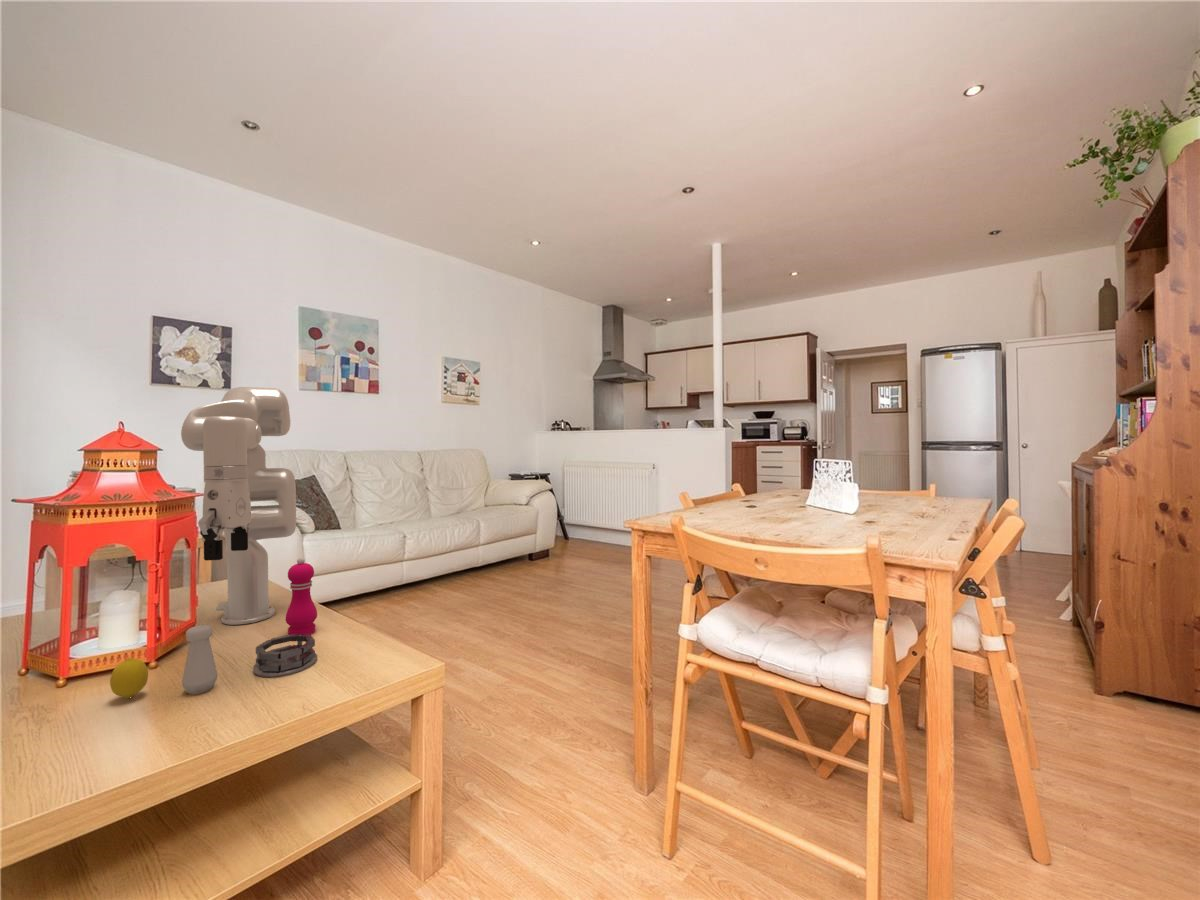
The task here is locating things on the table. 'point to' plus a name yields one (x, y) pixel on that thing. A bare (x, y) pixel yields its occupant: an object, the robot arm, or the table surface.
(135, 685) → the lemon
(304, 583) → the pepper mill
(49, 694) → the table surface
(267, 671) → the collar stand
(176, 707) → the table surface
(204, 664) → the salt shaker
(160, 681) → the table surface
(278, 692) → the table surface
